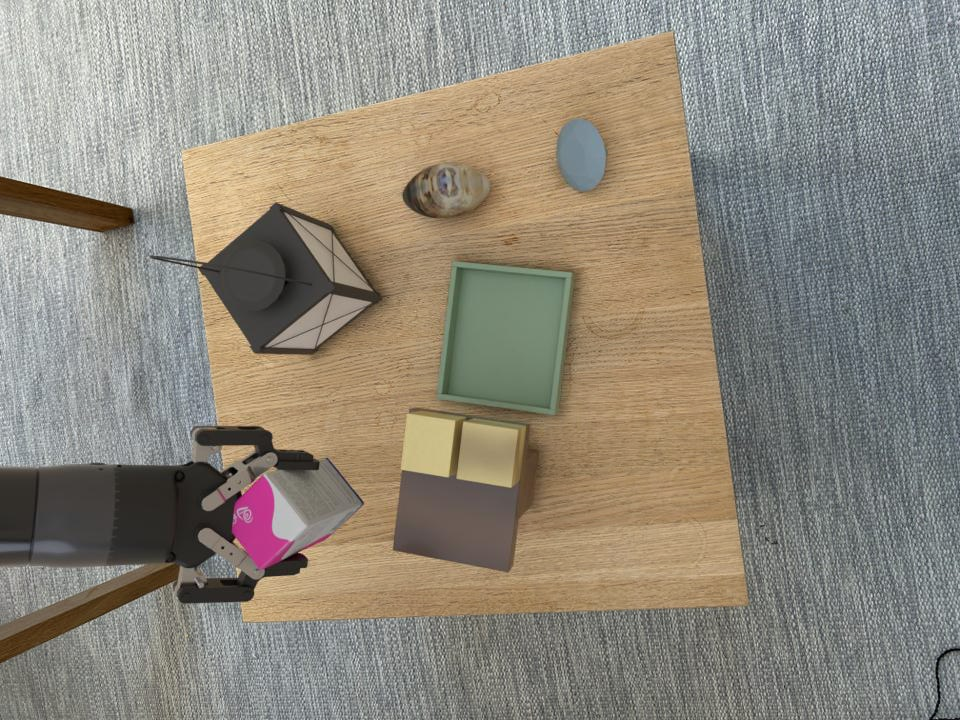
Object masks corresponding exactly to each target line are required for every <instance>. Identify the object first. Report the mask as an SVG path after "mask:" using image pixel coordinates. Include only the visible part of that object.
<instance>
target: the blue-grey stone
mask: <svg viewBox="0 0 960 720" xmlns="http://www.w3.org/2000/svg"><path fill="white" fill-rule="evenodd" d="M555 151H556V152H555V154H556V161H557V166H558V169H559V171H560V173H561V175H562V178H563V180H564V181H565V182H566V183H567V184H568V185H569V187H571V188H572V189H574V190H576V191H579V192H580V193H582V192H584V193H585V192H589V191H593V189H594V188H596V187H597V186H598V185H599V184H600V183H601V180H602V178H603V176H604V174H605V172H606V164H607V155H608V149H607V146H606V144H605V142H604V139H603V138H602V136H601V132H599V130H598V128H597V127H596V126H595V125H594V124H593V123H592V122H591V121H590V120H587V119H584V118H581V117H577V118H572V119H569V120H568V121H567V122H566V123H565V124H564V125H563V126H562V127H561V129H560V132H559V134H558V137H557V139H556V150H555Z"/></svg>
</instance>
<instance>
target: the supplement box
mask: <svg viewBox="0 0 960 720" xmlns="http://www.w3.org/2000/svg"><path fill="white" fill-rule="evenodd" d="M317 460H318V461H320V464H319V470H277V469H276V470H273V471H269V472H264V473H262V474H261V475H260V476H259V478H258V479H257V480H255V481H254V482H253V483H252V485H251V486H250V487H249V488H247V490H245V491H244V492H243V493H242V496H241V497H240V498H239V499H238V500H237V501H236V503H235V507H234V515H233V525H232V533H233V535H234V536H235V537H236V538H235V540H236V541H238V543H239V544H240V546H241V548H242V549H244V550H245V551H246V552H247V553H248V555H249V556H250V557H251V559H252V560H253V561H254V563H255V564H256V566H257V567H258V568H259V570H262V569H265V568H267V567H269V566H271V565H273V564H275V563H277V562H280V561H282V560H284V559H286V558H288V557H290V556H292V555H294V554H296V553H302V552H303V551H305V550H307V549H309V548H311V547H313V546H315V545H318V544H320V543H322V542H324V541H326V540H327V539H328V538H329V537H331V536H332V535H333V534H335V532H336V531H337V530H338V529H340V528H341V527H342V526H343V525H344V524H345V523H346V522H347V521H348V520H349V519H350V518H351V517H352V516H353V515H355V514H356V513H357V512H358V511H359V510H360V509H361V508H362V507H363V506H364V505H365V501H364V500H363V499H362V498H361V496H360V495H359V494H358V493H357V492H356V490H355V489H354V488H353V487H352V486H351V484H350V483H349V481H348V480H347V479H346V478H345V477H344V476H343V474H342V473H341V472H340V471H339V469H338V468H337V467H336V466H335V464H334V463H333V462H332V461H331V459H330V458H328V457H325V458H319V459H317Z"/></svg>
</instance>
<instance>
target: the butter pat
mask: <svg viewBox="0 0 960 720" xmlns="http://www.w3.org/2000/svg"><path fill="white" fill-rule="evenodd" d="M464 421H466V417H462V416H455V415H448V414H441V413H434V412H427V411H416V412H412V413H409V412H407V413H406V419H405V427H404V435H403V444H402V453H401V462H400V471H402V470H406V471H412V472H418V473H424V474H430V475H436V476H442V477H450V476H452V475H454V474H456V473H457V469H458V460H459V452H460V444H461V435H462V427H463V422H464Z"/></svg>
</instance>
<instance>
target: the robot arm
mask: <svg viewBox="0 0 960 720" xmlns="http://www.w3.org/2000/svg"><path fill="white" fill-rule="evenodd" d="M189 435H190V437H191V439H192V440H193V441H192V456H191V460H190V461H188V462H186V463H183V464H178V465H172V464H169V465H166V464H165V465H164V464H161V465H160V464H113V463H112V464H111V463H110V464H109V463H105V462H89V463H68V464H59V465H49V466H38V467H37V466H21V465H19V466H18V465H15V466H12V465H9V466H8V465H0V568H14V567H15V568H16V567H27V566H29V567H47V568H60V569H70V568H71V569H75V568H95V567H117V566H120V567H121V566H138V565H161V564H163V565H164V564H174V565H178V566H179V571H178V577H177V579H176V580H174V582H173V584H172V591H173V592H174V594H175V596H176V597H177V599H178V601H179V602H180V603H181V604H185V605H186V604H189V605H190V604H217V603H219V604H220V603H247V602H250V601H252V599H253V598H254V597H255V589H256V587H257V585H258V583H259V581H261V580H263V579H264V578H272V577H273V578H274V577H290V576H295V575H298V574H300V573H301V570H302V569H306V568H308V564H309V558H308V557H307V556H306V555H305V554H304V553H302V552H298V553H296V554H294V555H292V556H290V557H288V558H286V559H284V560H282V561H280V562H277V563H275V564H273V565H271V566H269V567H267V568H265V569H262V570H259V568H258V567H257V566H256V564H255V563H254V561H253V560H252V559H251V557H250V556H249V555H248V553H247V552H246V551H245V549H244V548H243V547H242V546H241V545H239V544H237V543H236V542H235V540H236V537H235V536H234V535H233V533H232V525H233V515H234V507H235V503H236V501H237V500H238V499H239V498H240V497H241V496H242V495H243V493H242V490H244V489H246V488H247V487H248V486H249V485H251V484H253V483H255V482H256V479H257V478H258V477H260V476H262V475H263V474H265V473H266V472H267V471H268V470H270V469H271V468H274V469H276V470H319V464H320V461H318V460H319V459H316V458H315V457H314V454H312V453H310V452H308V451H306V450H304V449H280V448H279V449H277V448H275V446H274V443H273V439H274V436H273V434H272V432H271V431H270V430H267V429H265V428H263V427H262V426H260V425H197V426H194V427H193V428H192V429H191V430H190V434H189ZM227 446H228V447H229V446H231V447H233V446H235V447H236V446H253V447H254V451H252V452H251V453H249V454H248V455H246V456H245V457H243V458H242V459H238V460H236V461H234V462H233V463H232V462H231V464H229V465H227V466H226V467H224V468H223V469H222V470H219V469H217V468H216V467H214V466H213V465H212V464H211V463H210V462H208V459H209V458H210V456H212V455H216V454H219V453H221V451H222V450H223V447H227ZM215 555H218V556H219V557H221V558H223V559H224V560H225V561H226V562H228V563H230V564H231V565H232V566H233V567H235V568H237V569H239V570H240V572H239V574H238V575H237V576H238V577H206V576H205V574H204V573H203V572H201V571H198V570H196V569H195V568H197V567H199V566H201V565H202V564H203V563H205V562H206V561H208V560H209V559H211V558H212V557H214V556H215Z"/></svg>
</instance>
